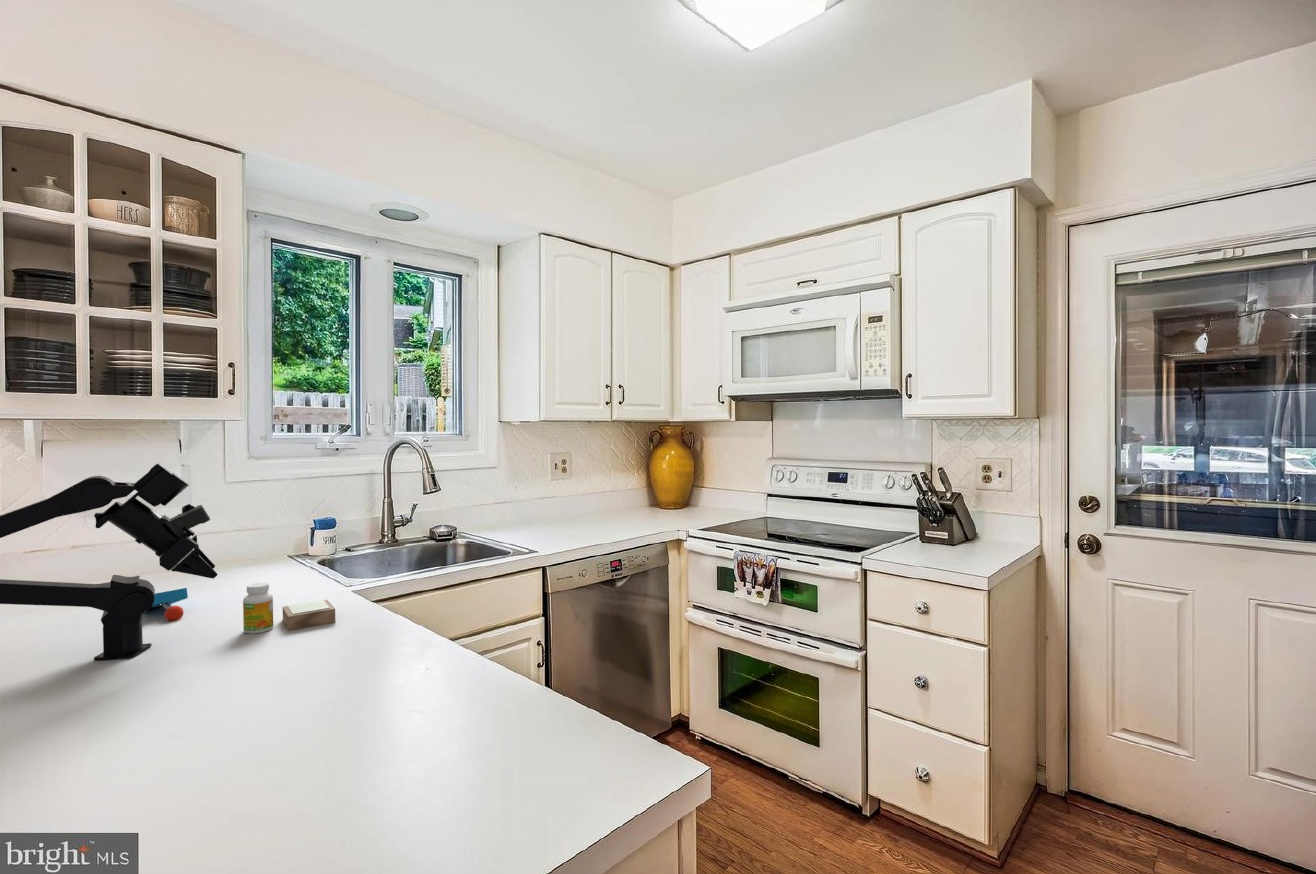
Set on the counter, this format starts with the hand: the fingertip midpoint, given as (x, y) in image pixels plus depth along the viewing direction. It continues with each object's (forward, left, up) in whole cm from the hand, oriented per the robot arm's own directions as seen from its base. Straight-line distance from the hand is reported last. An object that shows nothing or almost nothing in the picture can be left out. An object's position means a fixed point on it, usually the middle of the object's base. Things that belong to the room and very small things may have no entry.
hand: (214, 572), depth 129 cm
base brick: (+7, -15, -13) cm, 22 cm away
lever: (+22, +20, -14) cm, 33 cm away
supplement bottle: (+3, -7, -14) cm, 16 cm away
